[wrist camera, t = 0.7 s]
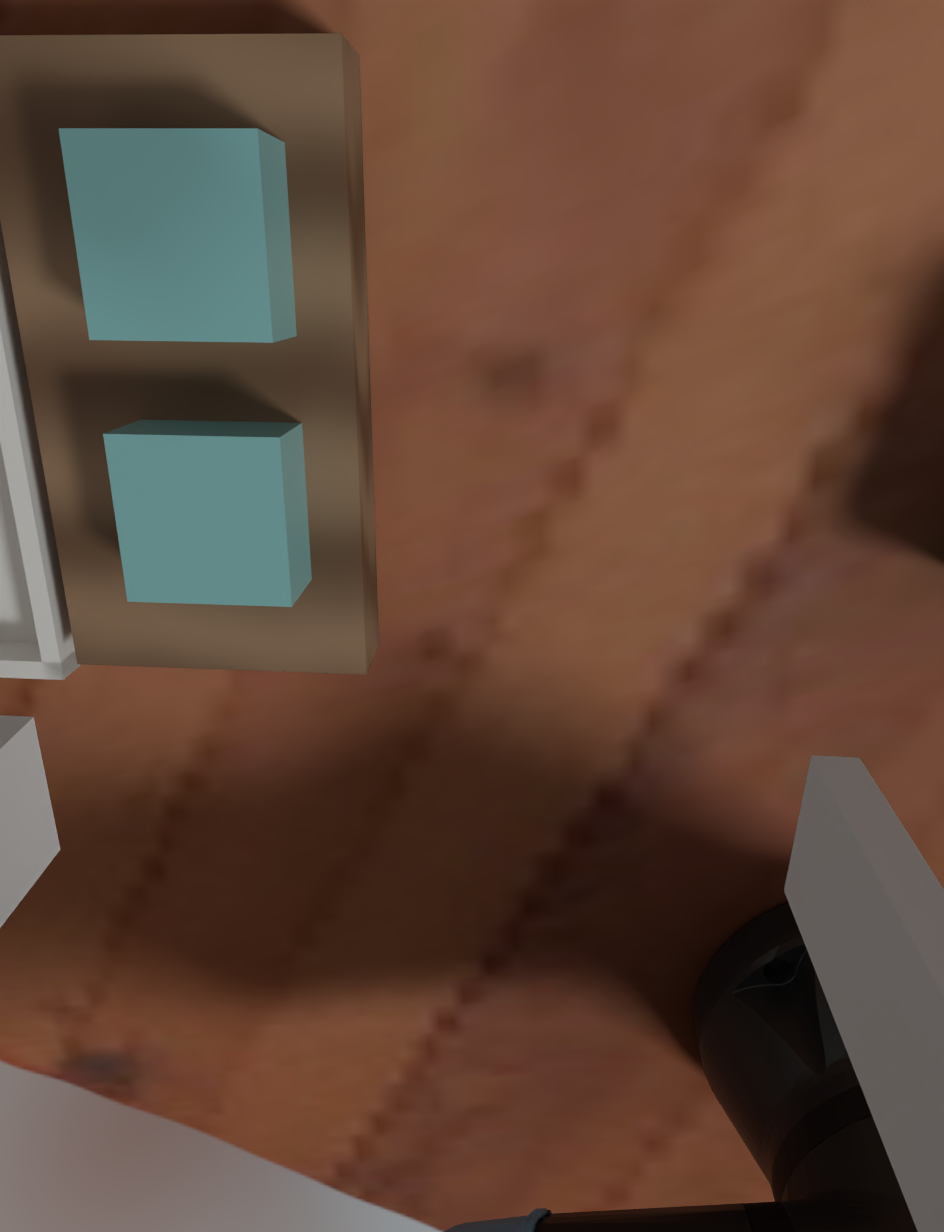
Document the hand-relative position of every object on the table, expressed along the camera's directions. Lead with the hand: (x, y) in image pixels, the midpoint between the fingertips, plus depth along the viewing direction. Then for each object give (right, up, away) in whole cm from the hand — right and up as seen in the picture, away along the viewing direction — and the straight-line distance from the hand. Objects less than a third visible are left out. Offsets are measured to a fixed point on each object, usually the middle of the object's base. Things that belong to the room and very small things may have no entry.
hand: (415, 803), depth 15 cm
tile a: (-8, +7, +18) cm, 21 cm away
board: (-9, +12, +20) cm, 25 cm away
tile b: (-8, +16, +15) cm, 23 cm away
